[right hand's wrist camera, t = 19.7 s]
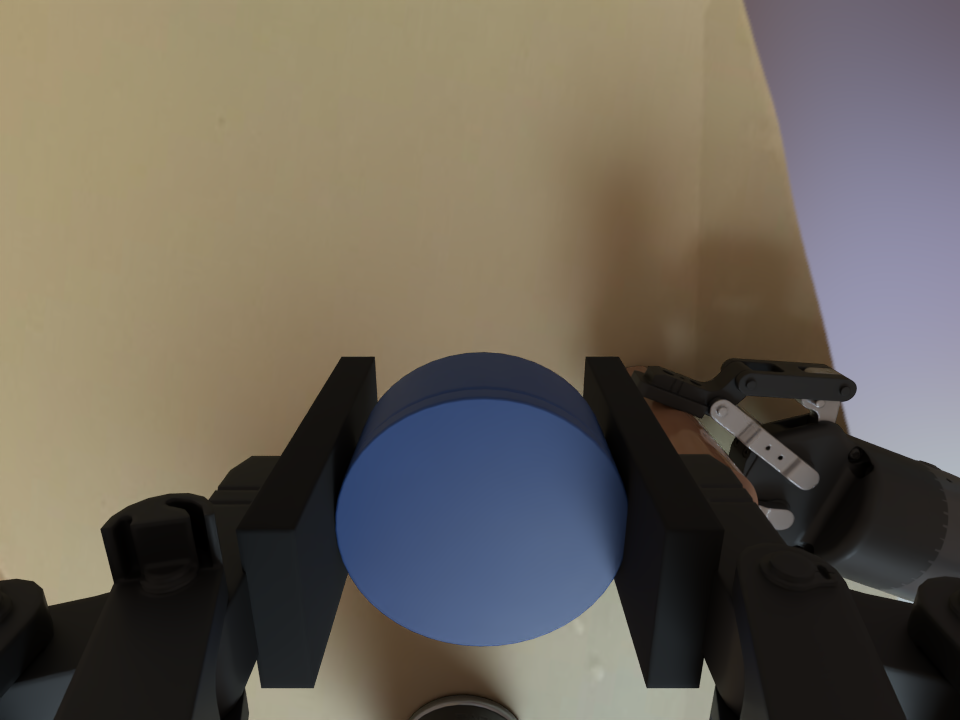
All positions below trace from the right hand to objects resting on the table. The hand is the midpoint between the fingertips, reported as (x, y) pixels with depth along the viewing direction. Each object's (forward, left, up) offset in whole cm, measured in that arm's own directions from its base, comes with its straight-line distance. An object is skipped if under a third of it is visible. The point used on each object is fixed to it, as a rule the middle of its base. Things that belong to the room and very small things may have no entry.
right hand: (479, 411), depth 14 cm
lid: (0, 0, +4) cm, 4 cm away
